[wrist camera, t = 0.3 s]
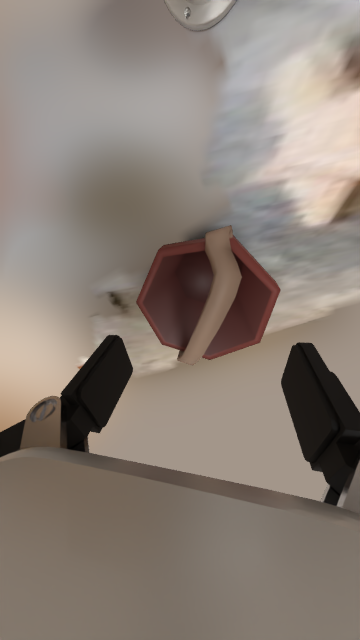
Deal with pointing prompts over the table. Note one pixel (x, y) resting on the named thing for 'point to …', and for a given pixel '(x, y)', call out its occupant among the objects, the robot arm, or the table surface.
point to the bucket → (207, 296)
